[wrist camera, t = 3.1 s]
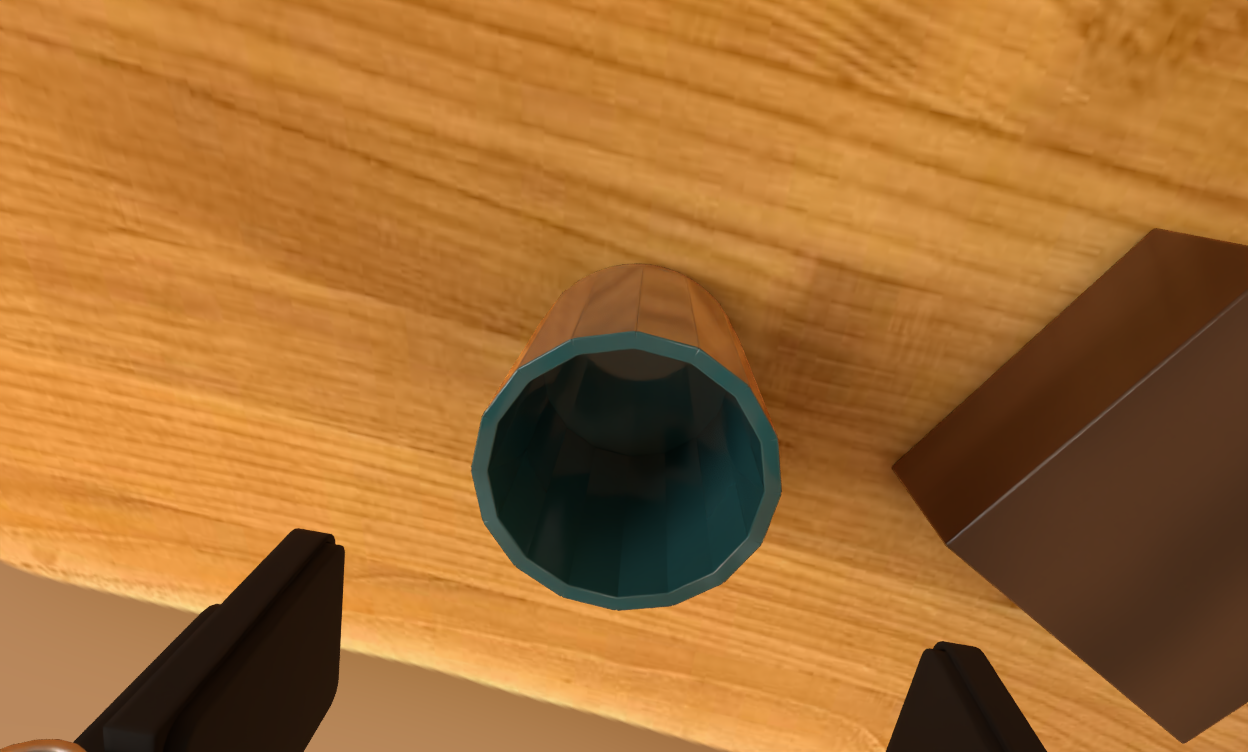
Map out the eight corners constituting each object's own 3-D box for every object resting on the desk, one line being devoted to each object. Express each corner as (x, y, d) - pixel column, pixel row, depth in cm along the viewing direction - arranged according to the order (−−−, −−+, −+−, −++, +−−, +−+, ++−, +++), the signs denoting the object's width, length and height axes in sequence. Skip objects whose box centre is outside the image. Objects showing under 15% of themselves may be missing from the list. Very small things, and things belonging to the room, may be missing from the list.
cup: (496, 327, 24) (413, 426, 16) (676, 223, 22) (687, 273, 14) (601, 488, 26) (575, 651, 17) (774, 401, 24) (832, 535, 16)
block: (889, 467, 25) (944, 545, 20) (1154, 226, 22) (1292, 252, 17) (1090, 637, 27) (1184, 746, 22) (1359, 439, 24) (1535, 515, 19)
